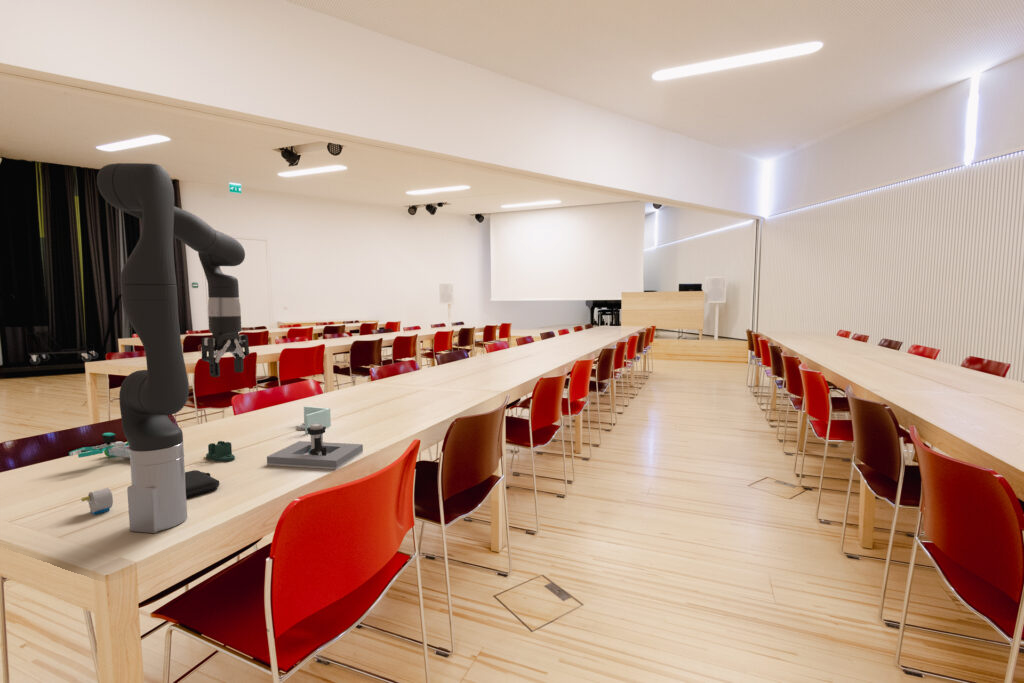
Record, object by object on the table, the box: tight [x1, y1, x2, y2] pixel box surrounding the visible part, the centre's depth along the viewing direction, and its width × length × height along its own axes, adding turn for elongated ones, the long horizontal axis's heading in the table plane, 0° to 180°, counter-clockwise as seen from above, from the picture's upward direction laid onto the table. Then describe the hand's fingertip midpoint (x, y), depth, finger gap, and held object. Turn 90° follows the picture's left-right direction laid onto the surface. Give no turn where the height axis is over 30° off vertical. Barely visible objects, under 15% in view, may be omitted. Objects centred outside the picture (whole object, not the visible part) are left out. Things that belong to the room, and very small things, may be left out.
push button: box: [307, 423, 327, 456], centre depth 145 cm, size 7×5×10 cm
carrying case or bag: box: [185, 469, 221, 500], centre depth 123 cm, size 11×3×15 cm
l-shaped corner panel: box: [296, 405, 332, 435], centre depth 180 cm, size 12×12×8 cm
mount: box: [205, 440, 236, 463], centre depth 145 cm, size 11×4×5 cm, turn 67°
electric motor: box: [80, 487, 114, 516], centre depth 108 cm, size 7×5×5 cm
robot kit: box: [68, 432, 130, 459], centre depth 144 cm, size 19×25×9 cm
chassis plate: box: [266, 440, 364, 470], centre depth 146 cm, size 16×22×2 cm
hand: (227, 374), depth 129 cm, fingers open, 8 cm apart
